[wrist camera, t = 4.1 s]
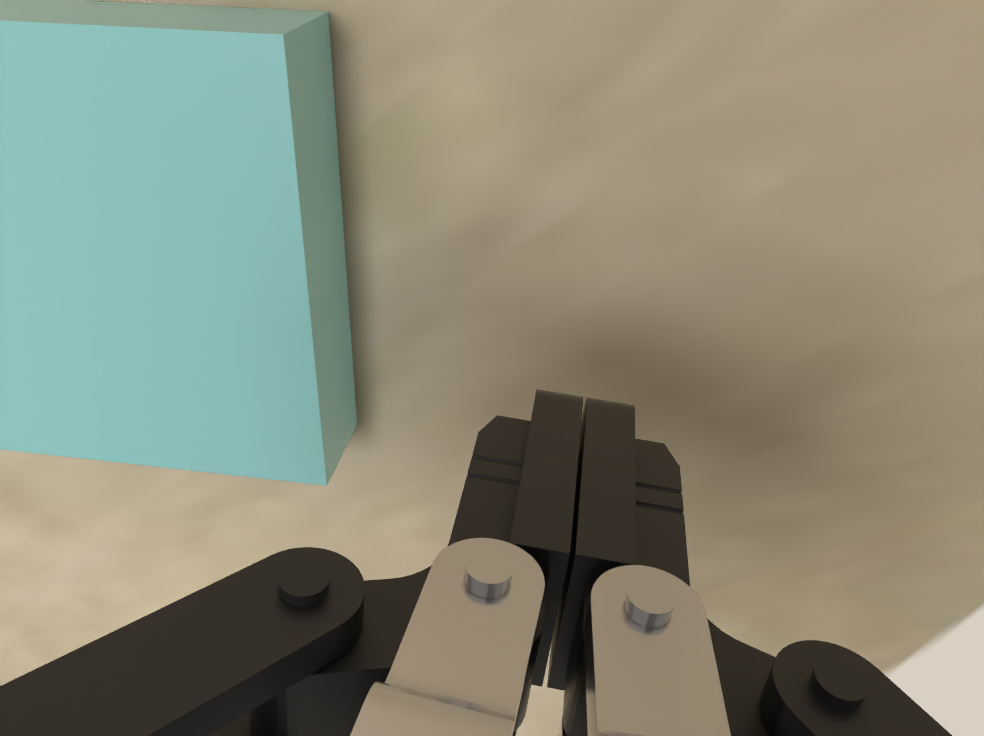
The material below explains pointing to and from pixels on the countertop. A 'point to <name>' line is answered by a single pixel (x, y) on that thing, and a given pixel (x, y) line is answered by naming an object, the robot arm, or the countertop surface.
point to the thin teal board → (172, 239)
